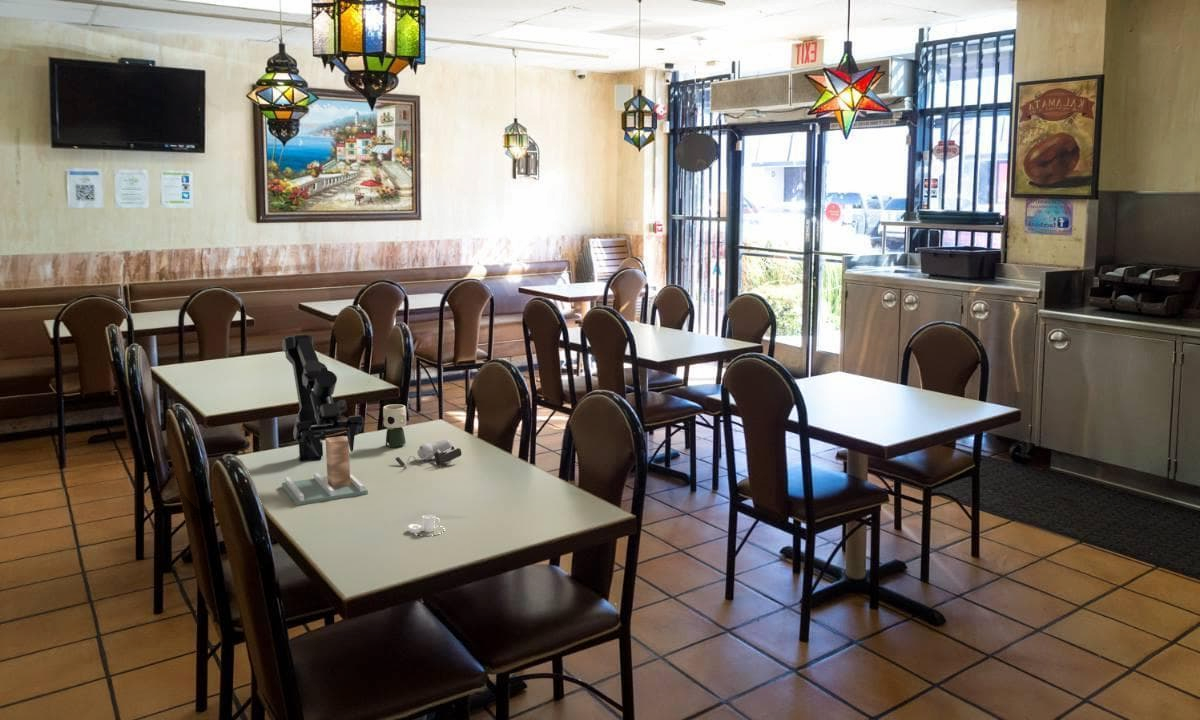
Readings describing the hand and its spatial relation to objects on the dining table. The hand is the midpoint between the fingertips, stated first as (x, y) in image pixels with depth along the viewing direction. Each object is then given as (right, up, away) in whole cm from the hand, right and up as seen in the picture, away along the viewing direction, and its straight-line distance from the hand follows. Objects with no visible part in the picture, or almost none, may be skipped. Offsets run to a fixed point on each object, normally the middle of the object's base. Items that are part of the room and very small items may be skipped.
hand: (335, 453), depth 263 cm
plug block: (+1, -9, +1) cm, 9 cm away
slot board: (-3, -10, -1) cm, 11 cm away
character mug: (+7, -2, +43) cm, 44 cm away
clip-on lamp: (+21, -6, +25) cm, 33 cm away
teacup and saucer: (+30, -16, -29) cm, 45 cm away
